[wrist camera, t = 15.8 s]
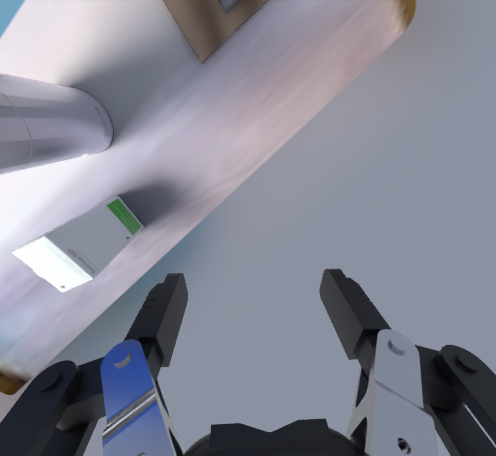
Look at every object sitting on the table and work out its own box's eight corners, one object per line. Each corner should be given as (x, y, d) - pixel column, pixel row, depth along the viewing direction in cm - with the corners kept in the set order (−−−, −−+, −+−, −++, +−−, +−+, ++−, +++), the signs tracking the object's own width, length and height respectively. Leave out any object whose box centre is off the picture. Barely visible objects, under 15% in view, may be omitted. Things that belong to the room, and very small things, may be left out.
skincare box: (145, 227, 40) (97, 280, 27) (120, 238, 42) (63, 295, 28) (116, 192, 37) (43, 235, 23) (90, 206, 38) (6, 254, 24)
